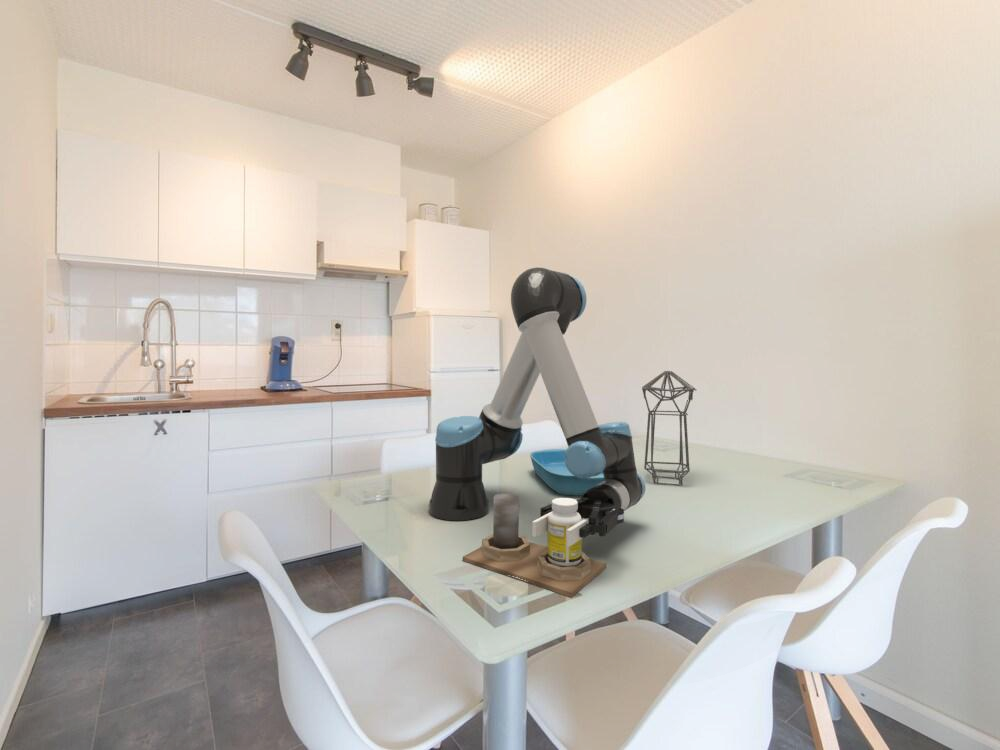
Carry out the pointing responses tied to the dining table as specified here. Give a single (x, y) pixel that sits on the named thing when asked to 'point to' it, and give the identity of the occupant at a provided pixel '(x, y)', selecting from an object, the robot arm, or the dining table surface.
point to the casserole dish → (561, 473)
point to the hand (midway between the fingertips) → (550, 533)
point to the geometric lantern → (687, 388)
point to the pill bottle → (563, 533)
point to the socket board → (527, 554)
